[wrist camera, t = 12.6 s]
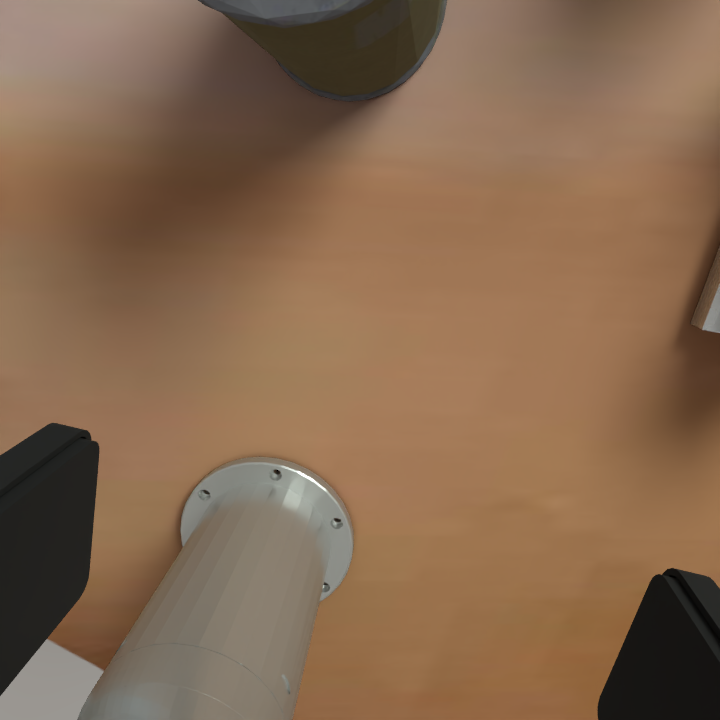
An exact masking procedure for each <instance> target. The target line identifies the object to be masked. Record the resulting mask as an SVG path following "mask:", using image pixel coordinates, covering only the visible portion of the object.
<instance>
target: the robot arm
mask: <svg viewBox="0 0 720 720" xmlns="http://www.w3.org/2000/svg"><path fill="white" fill-rule="evenodd" d="M98 462H99V445H98V443H97V442H95V441H91V435H90V433H89V432H88V431H87V430H83V429H78V428H74V427H70V426H66V425H61V424H57V423H51V424H49V425H47V426H45V427H44V428H42V429H41V430H39V431H37V432H36V433H34V434H33V435H31V436H30V437H28V438H27V439H25V440H24V441H22V442H20V443H19V444H17V445H16V446H14V447H13V448H11V449H10V450H8V451H7V452H5V453H4V454H2V455H0V696H1V694H2V693H3V692H4V691H5V689H6V688H7V687H8V686H9V684H10V683H11V682H12V681H13V680H14V678H15V677H16V676H17V674H18V673H19V672H20V671H21V670H22V669H23V667H24V666H25V665H26V663H27V662H28V661H29V660H30V659H31V657H32V656H33V655H34V654H35V653H36V651H37V650H38V649H39V648H40V646H41V645H42V644H43V643H44V641H45V640H46V639H47V638H48V637H49V635H50V634H51V633H52V632H53V630H54V629H55V628H56V627H57V625H58V624H59V623H60V622H61V621H62V619H63V618H64V617H65V616H66V614H67V613H68V612H69V611H70V609H71V608H72V607H73V606H74V605H75V603H76V602H77V601H78V600H79V598H80V597H81V595H82V593H83V591H84V590H85V587H86V585H87V581H88V578H89V570H90V558H91V546H92V534H93V522H94V510H95V498H96V486H97V474H98ZM276 469H277V470H279V471H280V472H278V471H276ZM337 518H339V519H337ZM180 533H181V541H182V546H183V548H182V550H181V551H180V553H179V554H178V556H177V558H176V559H175V561H174V562H173V564H172V565H171V567H170V569H169V570H168V572H167V573H166V575H165V576H164V578H163V580H162V581H161V583H160V584H159V586H158V587H157V589H156V591H155V592H154V594H153V595H152V597H151V598H150V600H149V602H148V603H147V605H146V606H145V608H144V609H143V611H142V613H141V614H140V616H139V617H138V619H137V620H136V622H135V624H134V625H133V627H132V628H131V630H130V631H129V633H128V635H127V636H126V638H125V639H124V641H123V642H122V644H121V646H120V647H119V649H118V650H117V652H116V653H115V655H114V657H113V658H112V660H111V662H110V663H109V665H108V666H107V668H106V669H105V671H104V673H103V674H102V676H101V677H100V679H99V680H98V682H97V684H96V685H95V687H94V688H93V690H92V691H91V693H90V695H89V696H88V698H87V700H86V702H85V704H84V706H83V708H82V710H81V712H80V715H79V717H78V719H77V720H292V719H293V715H294V710H295V706H296V702H297V697H298V693H299V689H300V684H301V680H302V676H303V671H304V667H305V663H306V658H307V654H308V650H309V645H310V641H311V637H312V632H313V628H314V624H315V619H316V615H317V610H318V606H319V602H321V601H322V600H324V599H325V598H327V597H328V596H330V595H331V594H332V593H333V592H334V591H335V589H336V588H337V587H338V586H339V585H340V584H341V582H342V580H343V579H344V577H345V576H346V574H347V572H348V569H349V566H350V563H351V559H352V553H353V547H354V532H353V527H352V523H351V519H350V516H349V514H348V511H347V509H346V507H345V505H344V503H343V502H342V500H341V499H340V497H339V496H338V495H337V493H336V492H335V490H334V489H333V488H331V487H330V486H329V485H328V484H327V483H326V482H325V481H324V480H323V479H322V478H321V477H319V476H318V475H316V474H315V473H313V472H312V471H310V470H309V469H306V468H304V467H302V466H300V465H297V464H295V463H293V462H290V461H286V460H282V459H278V458H270V457H250V458H242V459H238V460H235V461H231V462H228V463H226V464H224V465H222V466H220V467H218V468H216V469H214V470H213V471H212V472H210V473H209V474H208V475H207V476H206V477H204V478H203V479H202V480H201V481H200V483H199V484H198V485H197V487H196V488H195V489H194V490H193V492H192V494H191V495H190V497H189V498H188V500H187V502H186V504H185V507H184V510H183V513H182V516H181V526H180ZM598 720H720V589H719V587H718V586H717V585H716V583H715V582H714V581H713V580H712V579H711V578H710V577H707V576H704V575H700V574H695V573H691V572H687V571H683V570H678V569H674V568H671V569H667V570H666V571H665V572H664V573H663V574H662V575H660V574H658V575H655V576H654V577H653V578H652V580H651V581H650V584H649V586H648V588H647V590H646V593H645V595H644V597H643V600H642V602H641V604H640V606H639V609H638V611H637V613H636V616H635V618H634V620H633V622H632V625H631V627H630V629H629V632H628V634H627V636H626V639H625V641H624V643H623V645H622V648H621V650H620V652H619V655H618V657H617V659H616V661H615V664H614V666H613V668H612V671H611V673H610V675H609V677H608V680H607V682H606V684H605V687H604V689H603V691H602V693H601V696H600V699H599V702H598Z"/></svg>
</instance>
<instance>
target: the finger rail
mask: <svg viewBox="0 0 720 720" xmlns="http://www.w3.org/2000/svg"><path fill="white" fill-rule="evenodd" d="M690 324H692V325H694V326H696V327H698V328H700V329H702V330H707V331H712V332H717V333H720V246H719V249H718V251H717V254H716V257H715V259H714V262H713V265H712V267H711V270H710V273H709V275H708V278H707V281H706V283H705V286H704V289H703V291H702V294H701V297H700V299H699V302H698V305H697V307H696V310H695V313H694V315H693V318H692V321H691V323H690Z"/></svg>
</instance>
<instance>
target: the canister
mask: <svg viewBox="0 0 720 720" xmlns="http://www.w3.org/2000/svg"><path fill="white" fill-rule="evenodd" d="M198 1H200V2H201V3H202V4H204V5H206V6H208V7H210V8H213V9H215V10H217V11H219V12H222V13H223V14H224V15H225V16H226V17H228V18H229V19H230V20H231V21H232V22H233V23H234V24H236V25H237V26H238V27H239V28H240V29H241V30H243V31H244V32H245V33H246V34H247V35H248V36H250V37H251V38H252V39H253V40H254V41H255V42H257V43H258V44H259V45H260V46H261V47H262V48H263V49H265V50H266V51H267V52H268V53H269V54H270V55H272V56H273V57H274V58H275V59H276V60H277V62H278V63H279V65H280V66H281V67H282V68H283V69H284V71H285V72H286V73H287V74H288V75H289V76H290V77H291V78H292V79H294V80H295V81H296V82H297V83H298V84H300V85H301V86H303V87H304V88H306V89H308V90H309V91H311V92H313V93H315V94H317V95H319V96H323V97H327V98H331V99H334V100H341V101H358V100H367V99H371V98H374V97H376V96H379V95H382V94H385V93H388V92H390V91H391V90H393V89H394V88H396V87H397V86H399V85H401V84H402V83H404V82H405V81H406V80H407V79H408V78H409V77H410V76H411V75H412V74H413V73H415V72H416V71H417V70H418V68H419V67H420V66H421V64H422V63H423V61H424V60H425V59H426V57H427V56H428V54H429V53H430V52H431V50H432V48H433V46H434V44H435V42H436V39H437V37H438V35H439V32H440V30H441V26H442V23H443V19H444V14H445V9H446V3H447V0H198Z"/></svg>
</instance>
